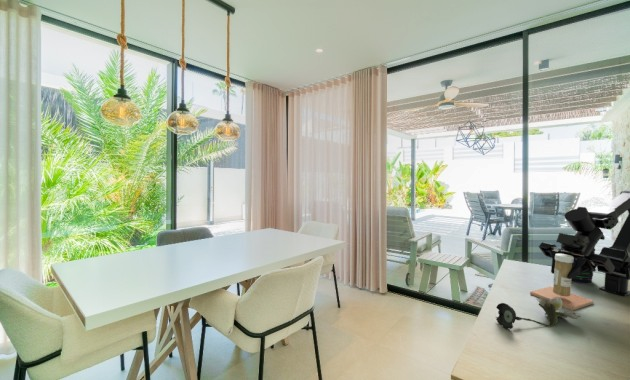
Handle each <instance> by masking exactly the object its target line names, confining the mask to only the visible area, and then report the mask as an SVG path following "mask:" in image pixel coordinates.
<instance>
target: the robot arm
mask: <svg viewBox="0 0 630 380" xmlns="http://www.w3.org/2000/svg"><path fill="white" fill-rule="evenodd" d="M625 212H628V215H627V217H626V219H625V221H624V222H623V224H622V226H621V227H620V229H619V232H618V234H617V236H616V238H615V240H614V242H613V243H612V245H611V246H609V247H606V246H603V247H602V248H601V251H600V253H598V254H597V253H595V254H594V253H592V254H590V252H595V251H596V247H595V246H596V245H597V244H598V242H599V241H600V240H603V241H604V240H605V234H604V231H602V229H604V230H612V229H613V228H614V227H616V226H617V224H619V219H618V218H619V217H620V216H622V215H623V214H624V213H625ZM564 218H565V220H566V221H567V223H568V225H569V226H570V227H571V229H572V230H573V231H575V232H576V233H575V234H574V235H573V234H572V235H571V234H568V233H563V232H559V233H558V235H557V238H556V241H555V242H556V243H559V244H560V248H558V246H557V245H556V244H554V243H550V242H546V241H542V242H541V243H539V245H538V249H540V251H541V252H542V253H543V255H544V256H545V257H547V258H551V259H552V260H551V268H550V273H551V274H553V275H554V268H555V254H567V255H570V256H573V257H574V259H576V260H577V261H576V264H575V265H574V267H573V268H572V269H571V271H570V272H569V273H568V275H567V278H568V279H571V278H573V277H576V276H578V275H581V274H584V273H587V272H590V271H593V273H594V272H596V271H597V272H600V273H604V283H603V286H599V288H598V289H599V290H602V291H604V292H605V291H606V292H609V293H613V294H616V295H619V296H622V297H626V296H629V295H630V290H629V281H630V190H629V189H625V190H621V191H620V193H619V194H618V195H617V196H616V197H614V198H613V199H612V200H610V201H609V202H607V203H606V204H605V205H603V206H601V207H594V208H591V209H589V210H588V208H587V207H584V206H578V207H577V208H575V209H570V210H569V211H567V212H565V214H564ZM561 244H562V245H561ZM561 247H562V248H564V250H561ZM594 247H595V248H594ZM589 254H590V256H588V255H589ZM596 268H597V269H596Z"/></svg>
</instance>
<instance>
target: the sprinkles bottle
mask: <svg viewBox="0 0 630 380" xmlns="http://www.w3.org/2000/svg"><path fill="white" fill-rule="evenodd" d="M573 260H574V257H573V256H570V255H567V254H555V268H554V274H553V285H552V287H553V292H554V293H555V294H557V295H560V296H570V295H571V294H570V293H571V286H572V281H571V280H572V278H571V279H568V278H567V275H568V273H569V272H570V271H571V269H572V264H573Z"/></svg>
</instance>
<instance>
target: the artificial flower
mask: <svg viewBox="0 0 630 380" xmlns="http://www.w3.org/2000/svg"><path fill="white" fill-rule="evenodd" d="M535 300H536V301H537V303H538V306H539V307H541V308H542V310H543V311H544V315H545V316H547V319H548V324H547V323H544V322H540V321H537V320H536V319H535V320H534V319H531V318H525V317H521V316H517V313H516V311H515V309H514V308H513V307H511V306H510V304H507V303H505V302H501V303H498V304H497V306H496V307H495V308H496V309H497V310H498V313H497V314H498V316H495V318H496V321H497V324H498V325H499V326H502V328H504V329H509V330H512V329H513V328H514V325H513V324H514V323H516V321H521V320H523V321H528V322H533V323H536V324H538V325H541V326H545V327H549V328H550V327H552V326H555V325H556V324H557V323H559V322H558V321H559V319H558V317H559V318H562V319H567V318H570V319H573V320H574V319H575V320H577V319H579V318H581V314H576V312H573V311H558V310H561V309H562V308H563V307H562V300H561V298H560V297H559V298H557V299H552V300H551V299H546V298H539V297H538V298H536V299H535ZM494 315H496V313H495V314H494Z"/></svg>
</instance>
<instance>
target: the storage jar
mask: <svg viewBox="0 0 630 380" xmlns="http://www.w3.org/2000/svg"><path fill="white" fill-rule="evenodd" d="M561 245H562V244H561V243H560V249H561V250H564V248H562V247H561ZM594 248H595V249H596V247H594ZM592 253H594V254H596V253H595V252H590V254H592ZM590 254H589V255H588V256H590ZM576 261H577V260H576V259H574V260H573V264H572V268H573V267H574V265H575V264H576ZM593 277H594V271H590V272H587V273H584V274H581V275H578V276H576V277H573V278H572V280H571V283H577V284H585V285H588V284H589V285H590V284H592V283H593Z"/></svg>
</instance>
